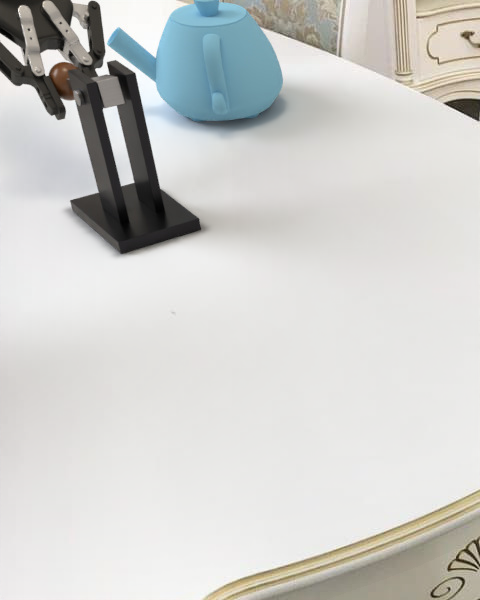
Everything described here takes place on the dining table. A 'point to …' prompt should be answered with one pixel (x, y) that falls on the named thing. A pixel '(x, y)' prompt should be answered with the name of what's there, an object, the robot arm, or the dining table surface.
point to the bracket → (145, 190)
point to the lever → (105, 83)
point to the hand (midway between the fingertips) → (81, 110)
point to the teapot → (209, 62)
